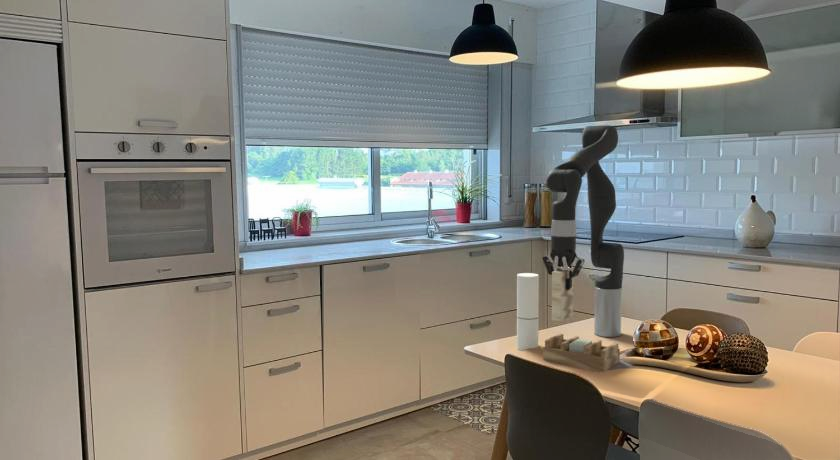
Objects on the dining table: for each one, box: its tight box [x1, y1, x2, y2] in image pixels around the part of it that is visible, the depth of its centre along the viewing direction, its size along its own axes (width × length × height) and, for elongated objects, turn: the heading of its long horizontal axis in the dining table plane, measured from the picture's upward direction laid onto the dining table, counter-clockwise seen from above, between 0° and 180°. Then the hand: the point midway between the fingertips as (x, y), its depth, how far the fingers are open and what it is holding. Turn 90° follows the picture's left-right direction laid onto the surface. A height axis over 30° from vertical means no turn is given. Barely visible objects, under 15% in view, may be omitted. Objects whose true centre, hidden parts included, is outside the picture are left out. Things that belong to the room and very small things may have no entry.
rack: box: [542, 332, 621, 373], centre depth 201 cm, size 12×19×7 cm, turn 51°
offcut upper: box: [569, 338, 593, 354], centre depth 201 cm, size 7×5×3 cm, turn 145°
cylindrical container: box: [516, 272, 540, 352], centre depth 218 cm, size 7×7×25 cm
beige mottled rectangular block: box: [551, 268, 575, 322], centre depth 204 cm, size 9×3×15 cm, turn 141°
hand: (562, 289), depth 203 cm, fingers closed on beige mottled rectangular block, 2 cm apart
